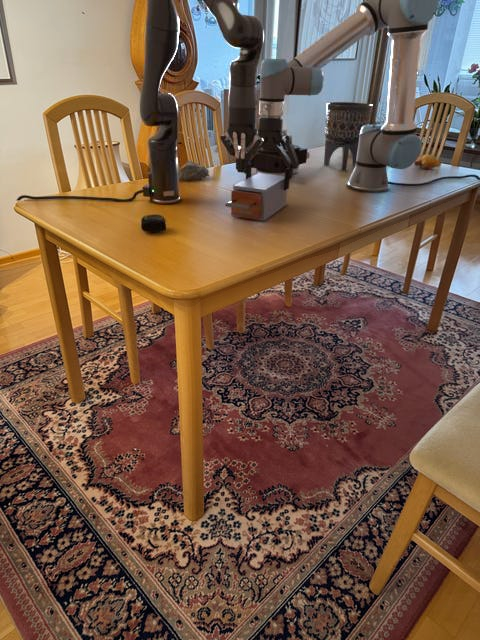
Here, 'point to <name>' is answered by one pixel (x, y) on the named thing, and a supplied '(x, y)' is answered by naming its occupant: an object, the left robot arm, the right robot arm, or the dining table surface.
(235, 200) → the drawer
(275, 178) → the grey rectangular box
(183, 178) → the rock
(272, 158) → the mechanical component
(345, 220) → the dining table surface
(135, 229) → the dining table surface
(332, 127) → the planter
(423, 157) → the toy
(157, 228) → the tape measure
